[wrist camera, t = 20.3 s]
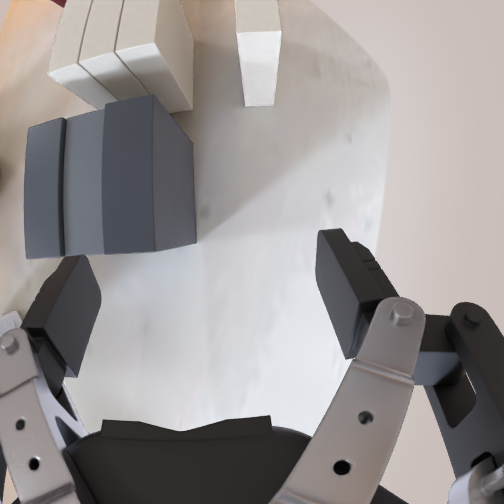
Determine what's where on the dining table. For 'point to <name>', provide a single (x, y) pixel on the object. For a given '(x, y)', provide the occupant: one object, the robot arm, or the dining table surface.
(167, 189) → the grey books
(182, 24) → the white books
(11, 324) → the syrup box
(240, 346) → the dining table surface
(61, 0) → the mug
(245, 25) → the white book
